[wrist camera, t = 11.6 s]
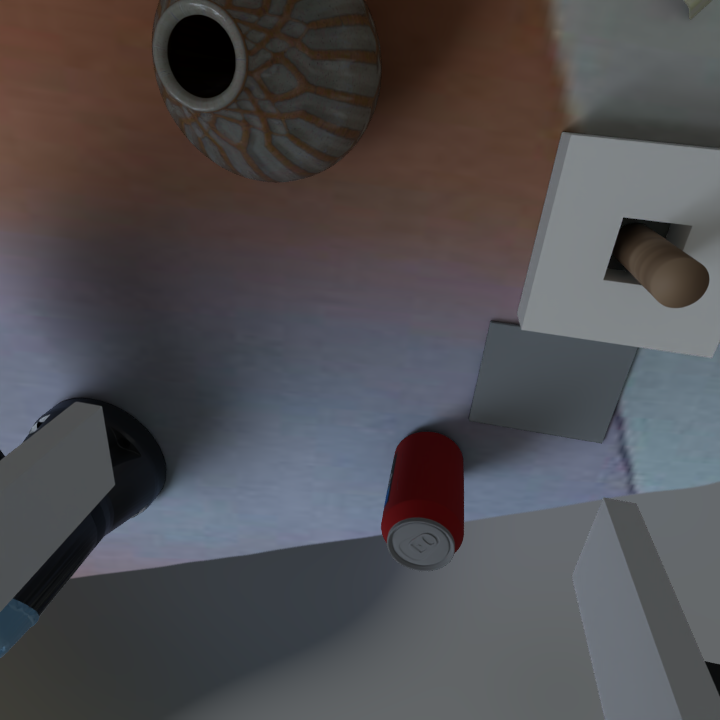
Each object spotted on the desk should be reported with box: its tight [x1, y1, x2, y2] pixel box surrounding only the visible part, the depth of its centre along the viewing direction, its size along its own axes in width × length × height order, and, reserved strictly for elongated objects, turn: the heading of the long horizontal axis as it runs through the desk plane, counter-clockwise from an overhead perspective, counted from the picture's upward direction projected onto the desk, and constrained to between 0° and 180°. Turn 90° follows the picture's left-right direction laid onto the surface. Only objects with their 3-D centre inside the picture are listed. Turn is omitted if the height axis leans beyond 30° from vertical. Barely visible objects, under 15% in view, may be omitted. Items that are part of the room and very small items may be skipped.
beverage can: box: [381, 432, 464, 571], centre depth 46 cm, size 7×7×12 cm
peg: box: [612, 223, 709, 308], centre depth 35 cm, size 3×3×10 cm
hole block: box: [517, 132, 720, 358], centre depth 38 cm, size 14×14×4 cm
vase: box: [152, 0, 382, 183], centre depth 30 cm, size 13×13×18 cm
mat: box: [469, 321, 638, 443], centre depth 45 cm, size 12×10×1 cm
